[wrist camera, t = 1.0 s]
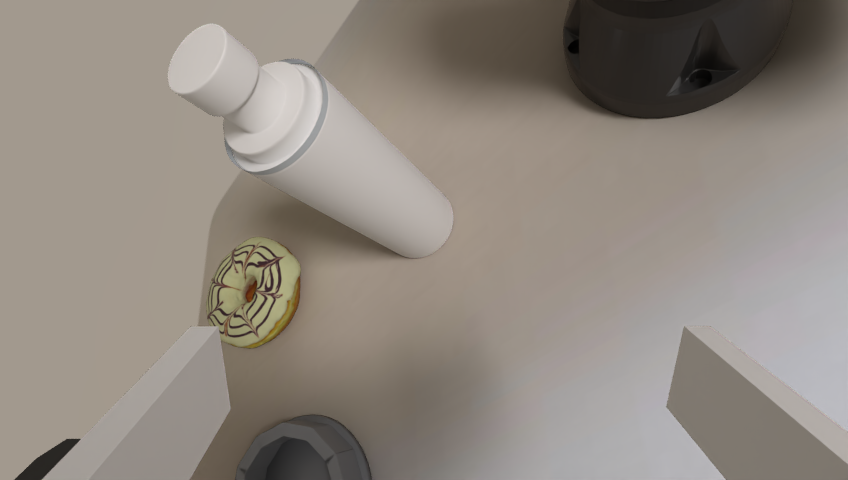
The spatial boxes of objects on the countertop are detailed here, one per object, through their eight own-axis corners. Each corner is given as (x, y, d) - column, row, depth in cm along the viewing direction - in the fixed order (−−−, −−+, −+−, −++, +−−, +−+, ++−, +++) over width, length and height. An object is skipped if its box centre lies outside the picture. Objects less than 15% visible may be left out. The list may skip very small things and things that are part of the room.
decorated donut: (323, 252, 43) (298, 242, 40) (290, 361, 41) (261, 359, 38) (249, 238, 48) (221, 227, 45) (216, 335, 46) (185, 331, 43)
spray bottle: (375, 217, 42) (97, 42, 20) (431, 174, 40) (199, -63, 19) (407, 273, 39) (119, 138, 17) (468, 228, 37) (242, 20, 16)
